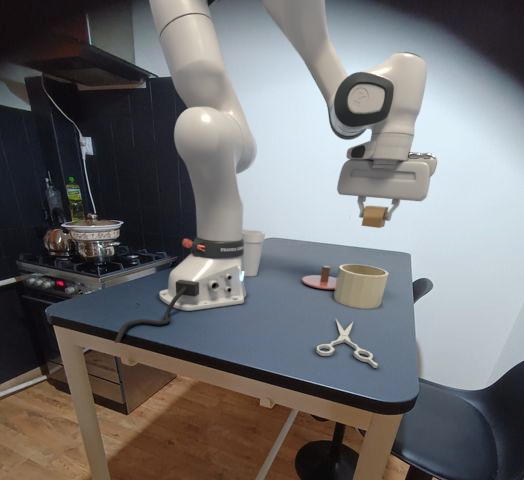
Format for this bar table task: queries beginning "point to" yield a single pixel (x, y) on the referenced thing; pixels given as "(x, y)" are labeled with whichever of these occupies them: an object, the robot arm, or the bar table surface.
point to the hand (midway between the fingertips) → (374, 219)
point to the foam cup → (252, 251)
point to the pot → (360, 286)
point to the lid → (321, 279)
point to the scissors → (346, 339)
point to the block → (374, 216)
